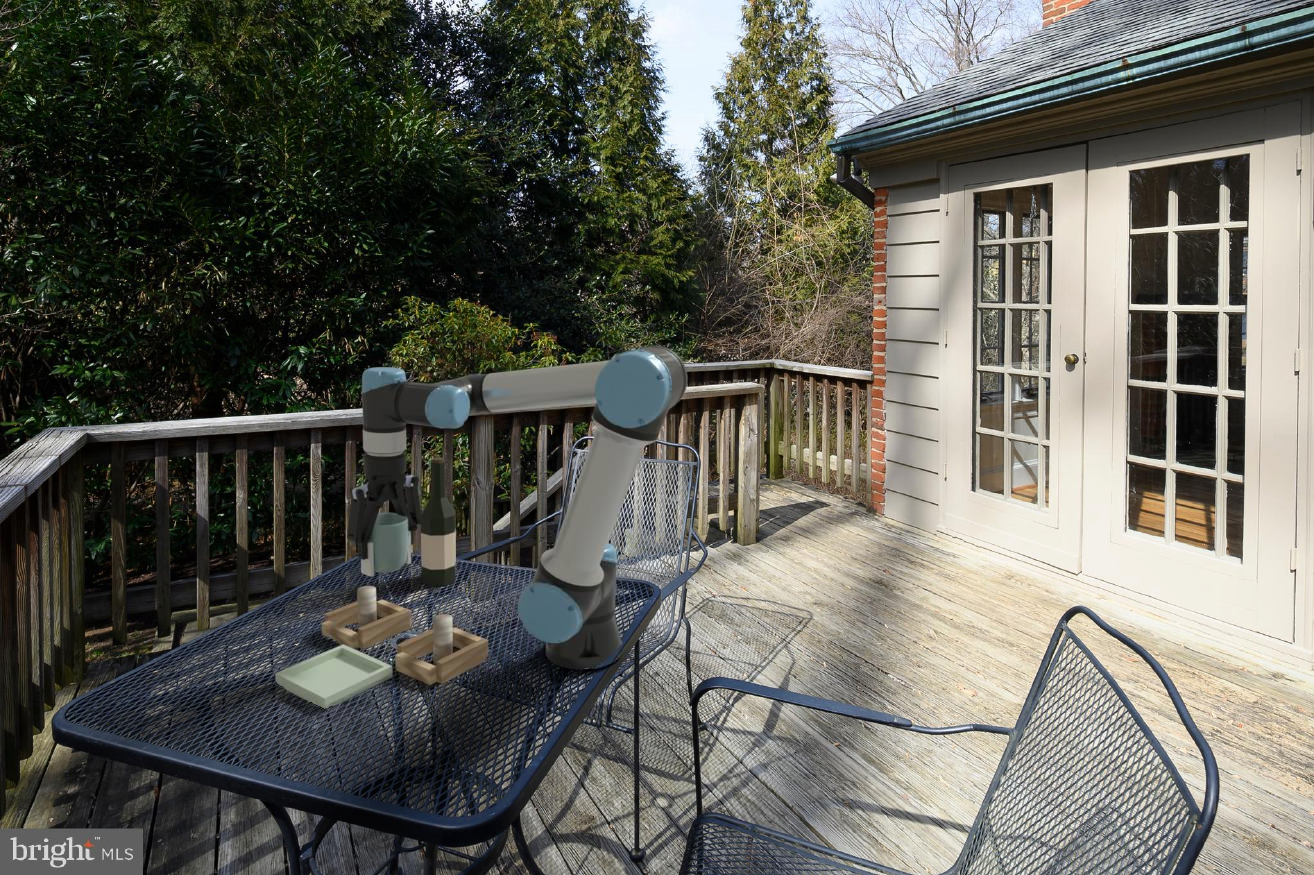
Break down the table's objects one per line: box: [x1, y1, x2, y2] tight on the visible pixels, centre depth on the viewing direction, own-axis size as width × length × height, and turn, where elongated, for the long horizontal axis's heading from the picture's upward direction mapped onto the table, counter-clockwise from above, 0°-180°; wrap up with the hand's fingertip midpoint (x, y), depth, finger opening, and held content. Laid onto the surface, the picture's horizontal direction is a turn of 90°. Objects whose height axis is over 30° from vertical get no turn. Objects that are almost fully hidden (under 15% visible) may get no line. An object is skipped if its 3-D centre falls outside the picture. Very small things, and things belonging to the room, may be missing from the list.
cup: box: [369, 512, 408, 574], centre depth 151 cm, size 8×8×10 cm
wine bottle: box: [420, 457, 457, 587], centre depth 188 cm, size 8×8×30 cm
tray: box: [274, 644, 393, 710], centre depth 144 cm, size 14×14×2 cm
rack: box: [321, 585, 489, 686], centre depth 157 cm, size 34×15×9 cm, turn 58°
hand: (386, 567), depth 152 cm, fingers closed on cup, 8 cm apart
